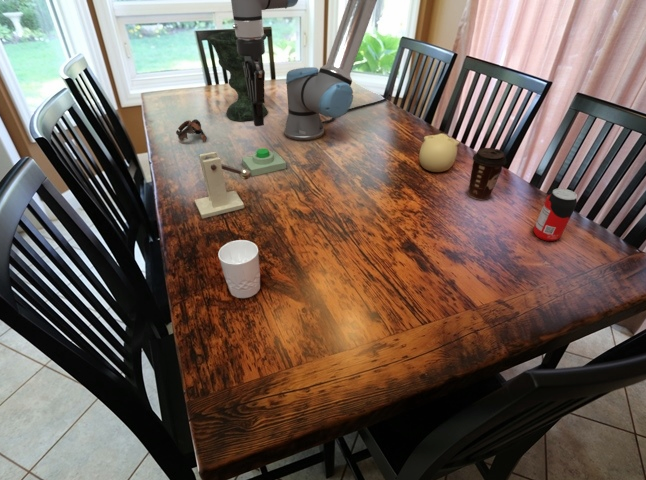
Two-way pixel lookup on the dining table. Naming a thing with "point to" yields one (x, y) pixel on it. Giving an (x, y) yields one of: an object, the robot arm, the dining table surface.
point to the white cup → (241, 267)
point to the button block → (264, 163)
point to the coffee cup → (485, 172)
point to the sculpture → (438, 152)
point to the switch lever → (235, 170)
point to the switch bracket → (216, 189)
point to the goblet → (234, 74)
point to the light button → (262, 153)
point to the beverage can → (555, 214)
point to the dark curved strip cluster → (190, 129)
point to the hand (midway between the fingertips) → (259, 124)
